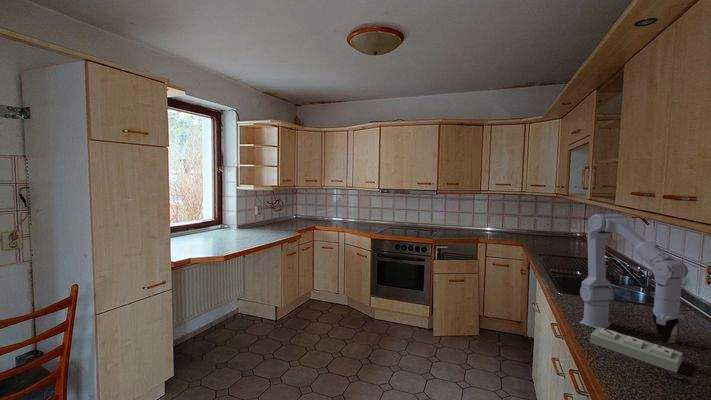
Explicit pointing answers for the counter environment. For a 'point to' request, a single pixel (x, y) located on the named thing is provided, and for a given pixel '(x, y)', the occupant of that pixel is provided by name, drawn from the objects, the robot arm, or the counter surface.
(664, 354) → the tile two pips
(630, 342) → the tile one pip
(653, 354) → the button board
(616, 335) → the tile three pips
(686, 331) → the counter surface
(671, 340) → the sprinkles bottle
